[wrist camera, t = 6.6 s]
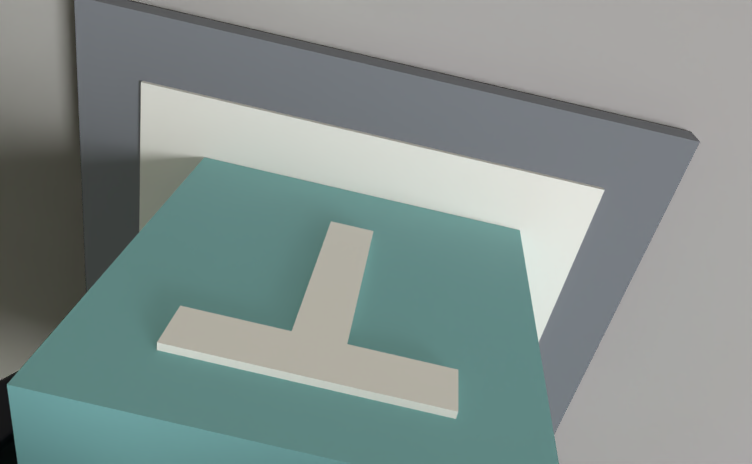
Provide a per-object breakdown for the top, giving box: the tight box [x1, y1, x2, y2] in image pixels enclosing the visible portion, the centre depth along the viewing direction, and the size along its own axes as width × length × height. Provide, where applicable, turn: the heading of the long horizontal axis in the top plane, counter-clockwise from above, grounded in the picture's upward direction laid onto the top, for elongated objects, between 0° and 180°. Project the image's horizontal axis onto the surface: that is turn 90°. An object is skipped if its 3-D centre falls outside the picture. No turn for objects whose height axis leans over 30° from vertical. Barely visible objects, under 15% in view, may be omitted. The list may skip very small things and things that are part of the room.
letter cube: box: [7, 157, 559, 464], centre depth 9 cm, size 5×5×5 cm
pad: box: [74, 0, 700, 434], centre depth 11 cm, size 9×9×1 cm
